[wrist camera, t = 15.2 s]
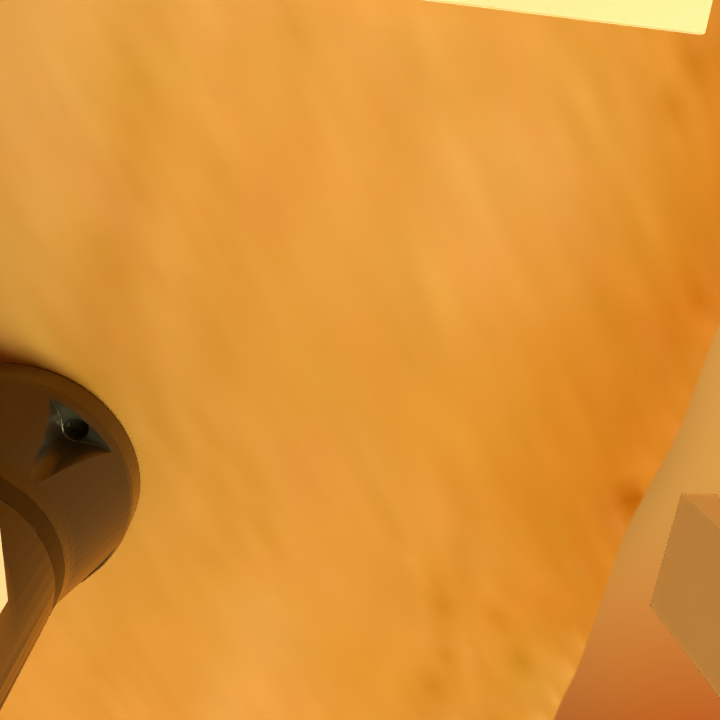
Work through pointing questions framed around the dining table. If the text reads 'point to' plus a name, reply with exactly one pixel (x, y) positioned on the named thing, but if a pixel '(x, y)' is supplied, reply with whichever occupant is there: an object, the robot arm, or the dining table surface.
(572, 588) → the dining table surface
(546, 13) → the paper sheet
